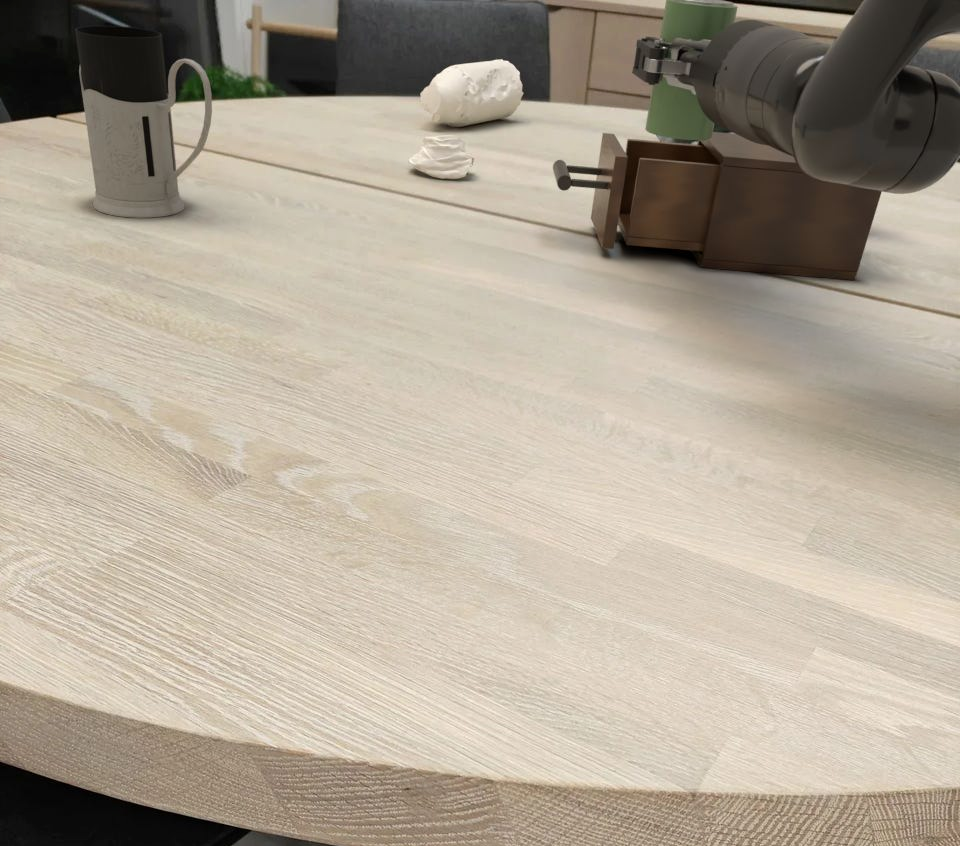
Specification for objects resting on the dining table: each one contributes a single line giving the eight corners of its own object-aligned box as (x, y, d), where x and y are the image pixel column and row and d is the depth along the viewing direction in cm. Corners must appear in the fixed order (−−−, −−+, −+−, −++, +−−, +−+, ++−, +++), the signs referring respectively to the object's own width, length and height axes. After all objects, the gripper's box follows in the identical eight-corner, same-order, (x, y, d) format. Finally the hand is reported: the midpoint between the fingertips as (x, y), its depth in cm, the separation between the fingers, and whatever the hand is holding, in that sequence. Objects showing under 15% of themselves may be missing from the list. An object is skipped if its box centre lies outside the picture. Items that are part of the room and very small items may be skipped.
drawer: (552, 244, 97) (563, 151, 92) (545, 214, 106) (555, 128, 101) (746, 260, 98) (768, 169, 93) (723, 229, 107) (741, 145, 102)
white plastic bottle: (406, 127, 144) (407, 64, 139) (477, 113, 157) (481, 55, 152) (451, 136, 141) (454, 72, 136) (520, 122, 154) (525, 63, 149)
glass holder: (135, 190, 104) (115, 22, 95) (246, 216, 100) (236, 43, 91) (73, 205, 98) (45, 27, 89) (189, 234, 93) (173, 50, 84)
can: (704, 130, 92) (730, 0, 86) (717, 142, 87) (745, 6, 81) (640, 124, 92) (661, -7, 86) (650, 136, 87) (673, -1, 81)
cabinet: (700, 267, 98) (724, 156, 92) (679, 232, 108) (699, 130, 102) (855, 280, 99) (888, 170, 93) (819, 244, 109) (847, 143, 103)
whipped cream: (407, 184, 119) (406, 141, 116) (409, 166, 124) (408, 124, 121) (474, 185, 120) (474, 141, 116) (473, 167, 125) (473, 124, 121)
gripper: (864, 32, 74) (765, 9, 87) (686, 19, 71) (611, -4, 84) (834, 142, 79) (745, 104, 92) (666, 134, 76) (597, 96, 89)
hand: (681, 53), depth 88 cm, fingers closed on can, 6 cm apart
